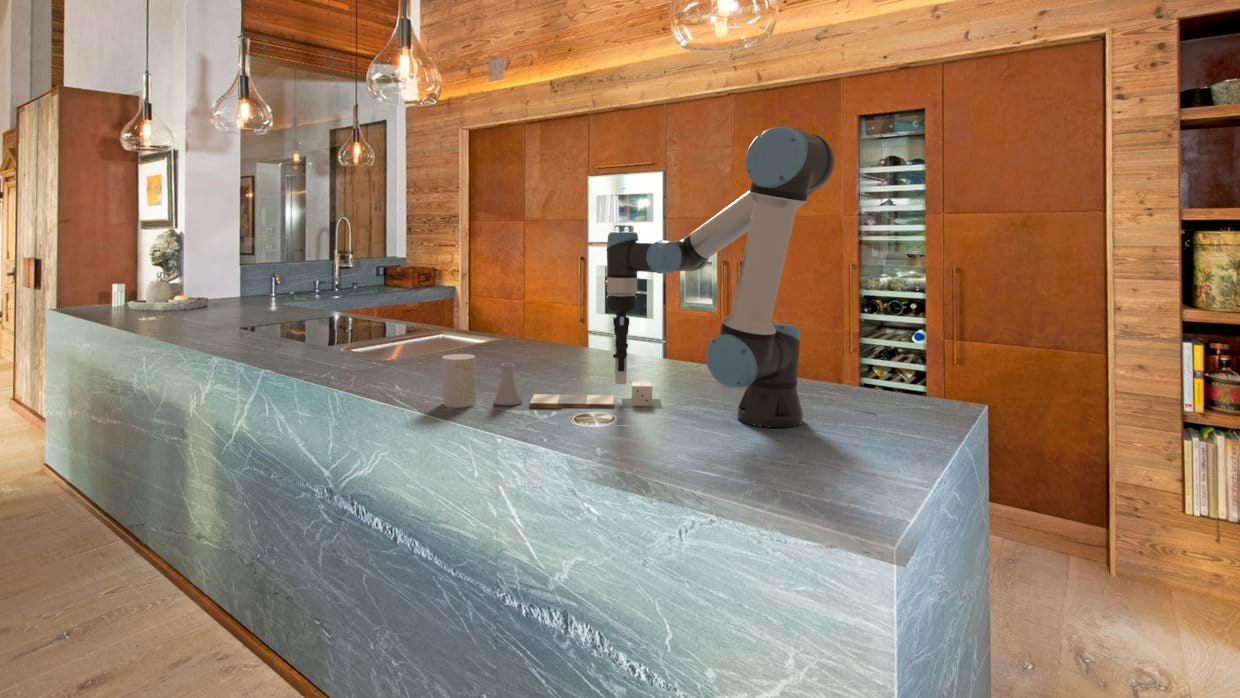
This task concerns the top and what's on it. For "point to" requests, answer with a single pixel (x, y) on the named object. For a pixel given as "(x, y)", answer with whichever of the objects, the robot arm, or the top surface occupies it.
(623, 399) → the mat
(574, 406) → the board
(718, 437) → the top surface
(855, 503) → the top surface
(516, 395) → the flask
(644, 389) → the die
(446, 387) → the white upright cylinder
